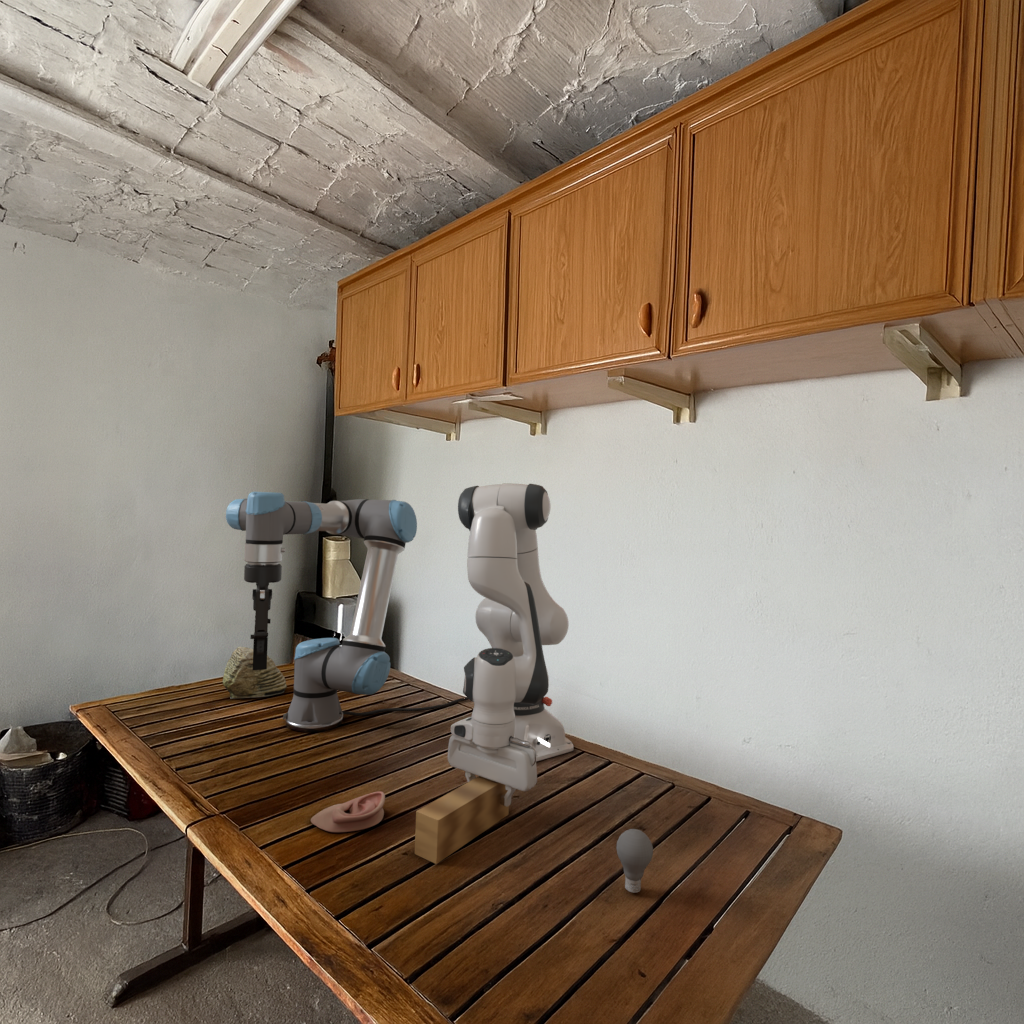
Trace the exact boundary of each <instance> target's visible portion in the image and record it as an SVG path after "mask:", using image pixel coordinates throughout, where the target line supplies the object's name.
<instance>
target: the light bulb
mask: <svg viewBox="0 0 1024 1024" xmlns="http://www.w3.org/2000/svg"><path fill="white" fill-rule="evenodd" d="M615 849H616V854H617V857H618V859H619V861H620V863H621V865H622V867H623V873H624V874H623V875H624V876H625V878H624V888H625V890H627V891H628V892H630V893H634V894H635V893H639V892H640V891H641V889H642V887H641V886H642V879H643V877H644V875H645V871H646V868H647V867H648V866H649V864H650V863H651V861H652V859H653V855H654V847H653V843H652V841H651V838H649V836H648V835H647V834H646V833H645V832H643V831H642V830H641V829H636V828H629V829H627V830H625V831H623V832H622V833H621V834H620V835H619V837H618V839H617V841H616V847H615Z"/></svg>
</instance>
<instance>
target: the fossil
mask: <svg viewBox="0 0 1024 1024" xmlns="http://www.w3.org/2000/svg"><path fill="white" fill-rule="evenodd" d="M222 676H223V677H222V685H223V687H224V688H225V690H226V691H228V693H229V698H230V699H250V698H264V697H271V696H275V695H281V694H284V693H285V691H286V689H287V687H288V686H287V680H286V678H285V676H284V674H283V673H282V672H281V669H279V668H278V667H277V665H276V663H275V662H274V660H273V659H272V658H271V657H270V656H269V655H268V654H267V669H266V670H253V648H251V647H247V646H246V647H245V646H238V647H237V648H236V649H235V650H233V651H232V653H231V656H230V657H229V659H228V660H227V663H226V666H225V668H224V671H223V675H222Z"/></svg>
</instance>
